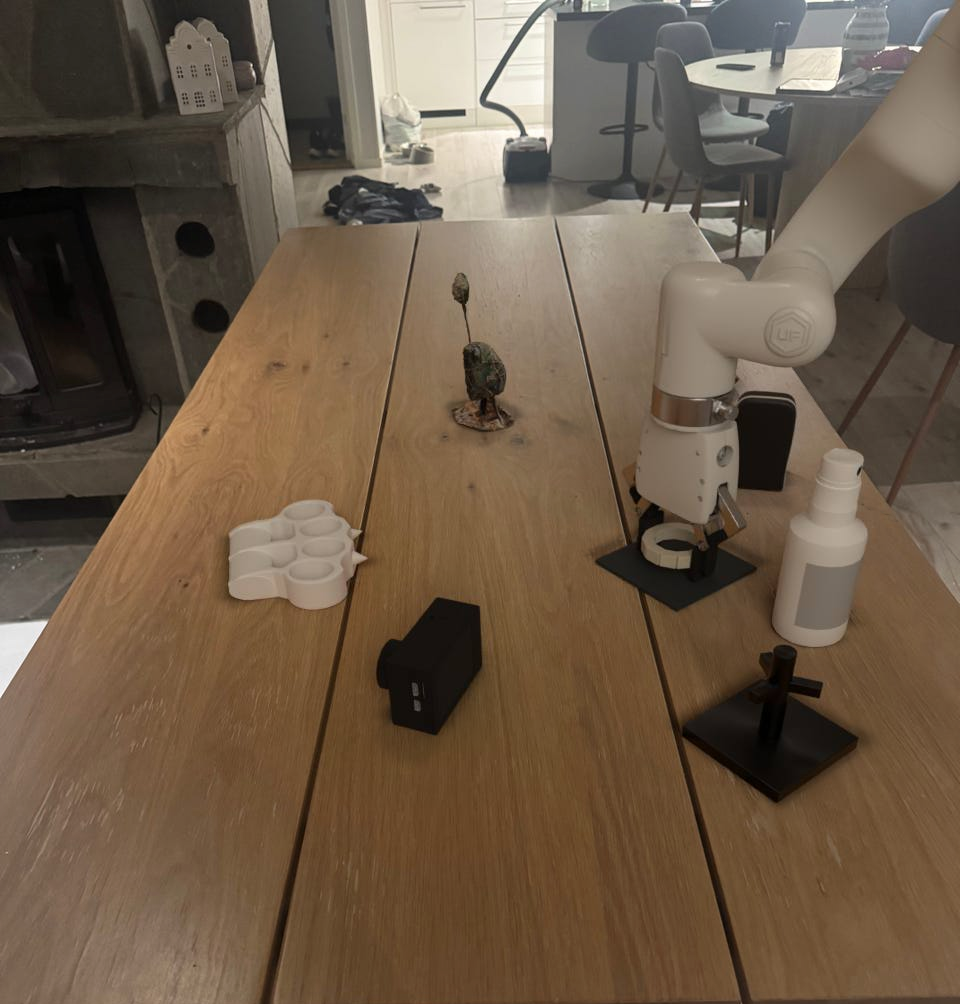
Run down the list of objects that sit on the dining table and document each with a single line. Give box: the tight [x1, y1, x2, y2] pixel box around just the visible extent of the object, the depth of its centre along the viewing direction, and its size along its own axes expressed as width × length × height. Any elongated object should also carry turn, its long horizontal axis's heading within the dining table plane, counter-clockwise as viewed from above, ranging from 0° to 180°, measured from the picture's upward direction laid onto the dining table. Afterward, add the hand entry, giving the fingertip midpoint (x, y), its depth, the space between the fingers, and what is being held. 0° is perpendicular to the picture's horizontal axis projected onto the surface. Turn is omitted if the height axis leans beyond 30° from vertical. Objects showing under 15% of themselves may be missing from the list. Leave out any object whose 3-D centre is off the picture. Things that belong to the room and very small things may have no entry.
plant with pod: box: [451, 272, 515, 432], centre depth 127 cm, size 8×11×20 cm
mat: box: [594, 539, 758, 612], centre depth 102 cm, size 12×12×1 cm
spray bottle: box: [771, 447, 869, 648], centre depth 87 cm, size 7×7×18 cm
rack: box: [681, 644, 860, 804], centre depth 77 cm, size 10×10×10 cm
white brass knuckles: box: [227, 498, 369, 611], centre depth 104 cm, size 3×18×15 cm
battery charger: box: [734, 390, 798, 492], centre depth 113 cm, size 7×4×11 cm, turn 75°
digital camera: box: [375, 596, 483, 736], centre depth 84 cm, size 10×5×7 cm, turn 157°
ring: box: [641, 522, 698, 569], centre depth 100 cm, size 7×7×1 cm
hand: (674, 560), depth 101 cm, fingers closed on ring, 6 cm apart
